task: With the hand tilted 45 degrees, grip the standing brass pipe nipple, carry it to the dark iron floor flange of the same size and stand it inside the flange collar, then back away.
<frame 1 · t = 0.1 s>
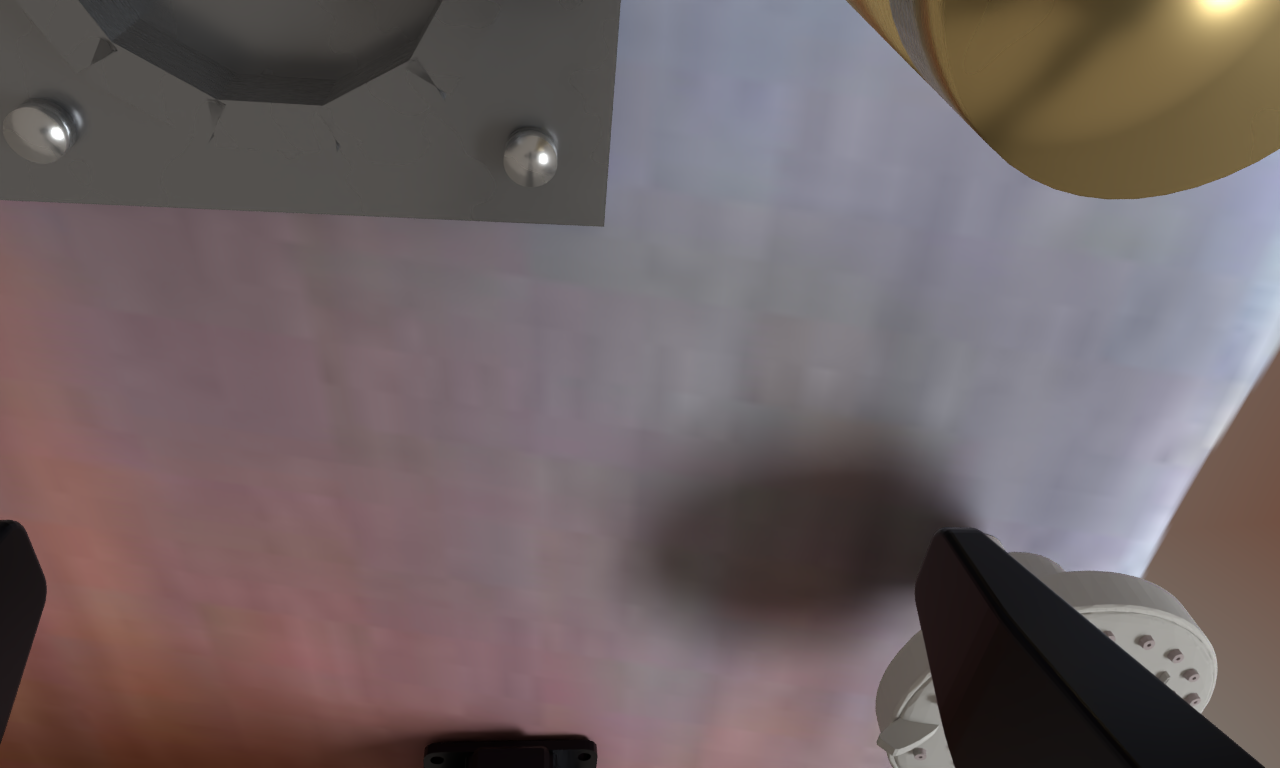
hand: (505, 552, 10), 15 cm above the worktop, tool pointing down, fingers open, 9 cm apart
showerhead: (960, 552, 32), on the worktop
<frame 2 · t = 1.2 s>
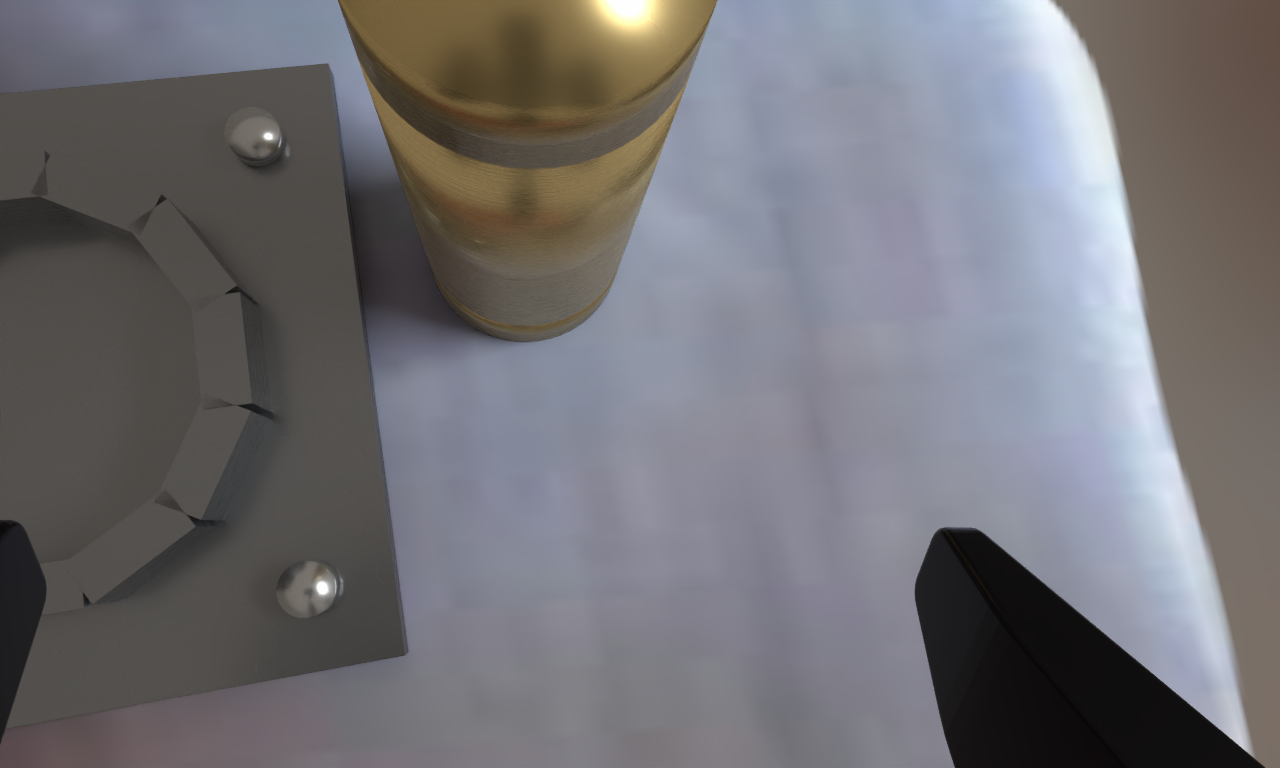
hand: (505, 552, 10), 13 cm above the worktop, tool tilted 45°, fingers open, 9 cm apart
floor flange: (53, 395, 21), on the worktop
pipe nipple: (524, 249, 23), on the worktop
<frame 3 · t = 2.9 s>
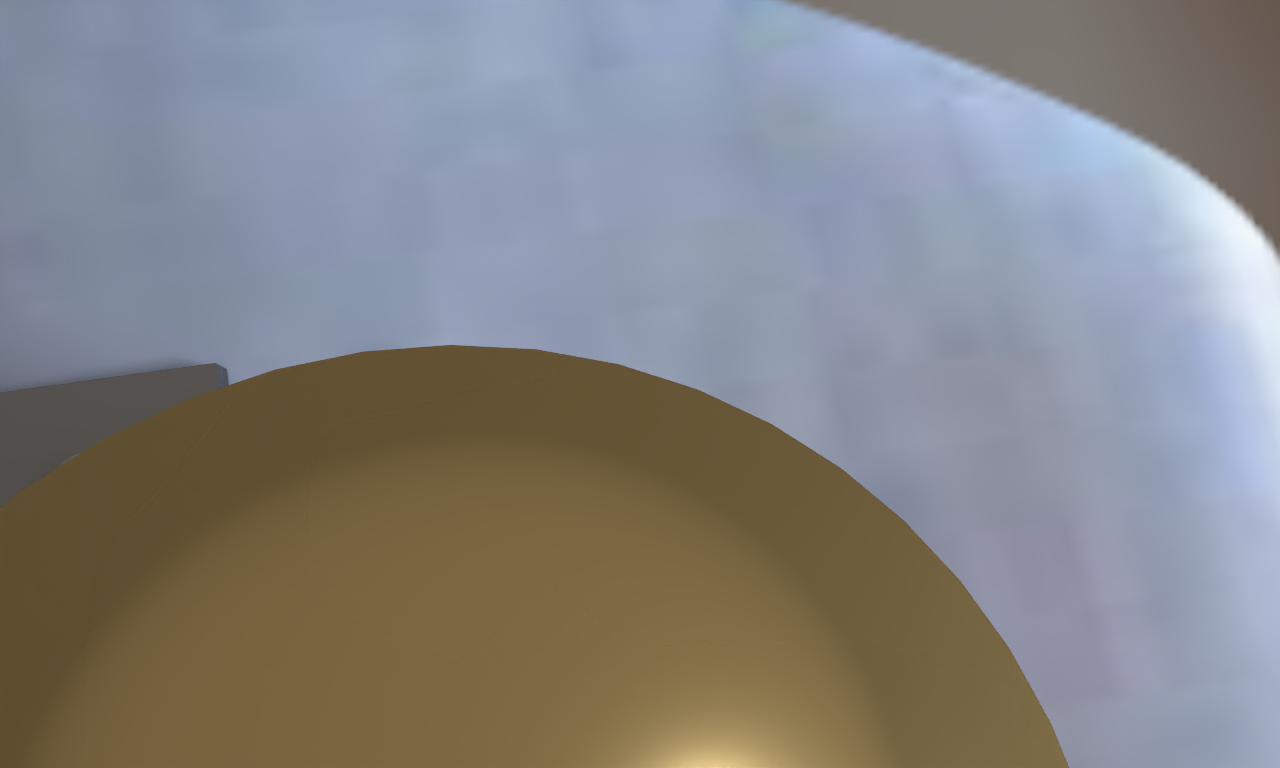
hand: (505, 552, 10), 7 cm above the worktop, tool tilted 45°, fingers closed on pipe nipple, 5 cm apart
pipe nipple: (509, 625, 16), on the worktop, touching gripper
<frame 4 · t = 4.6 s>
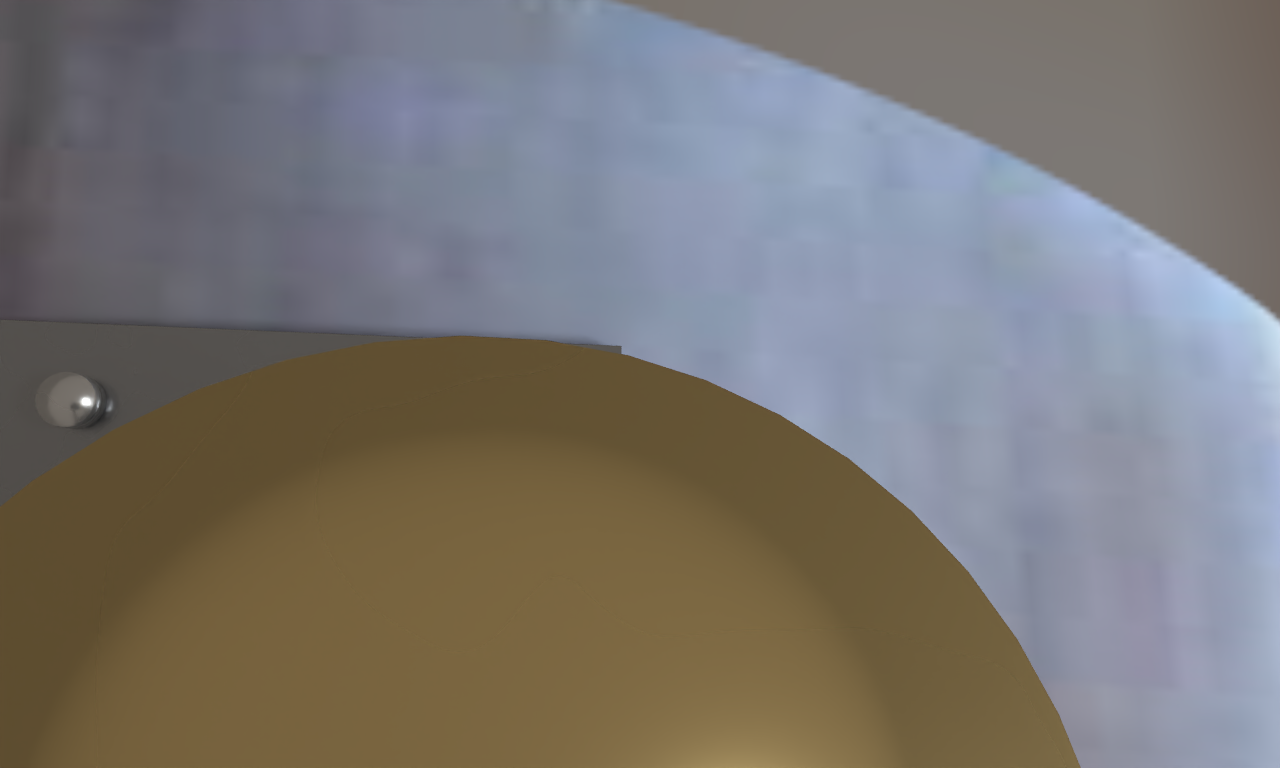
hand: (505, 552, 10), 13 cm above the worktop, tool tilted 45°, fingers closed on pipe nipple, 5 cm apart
floor flange: (307, 638, 22), on the worktop
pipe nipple: (511, 623, 16), point 7 cm above the worktop, touching gripper
when the fingers open (8 cm above the worktop, at t = 6.6 s): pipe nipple stays where it is, resting on floor flange.
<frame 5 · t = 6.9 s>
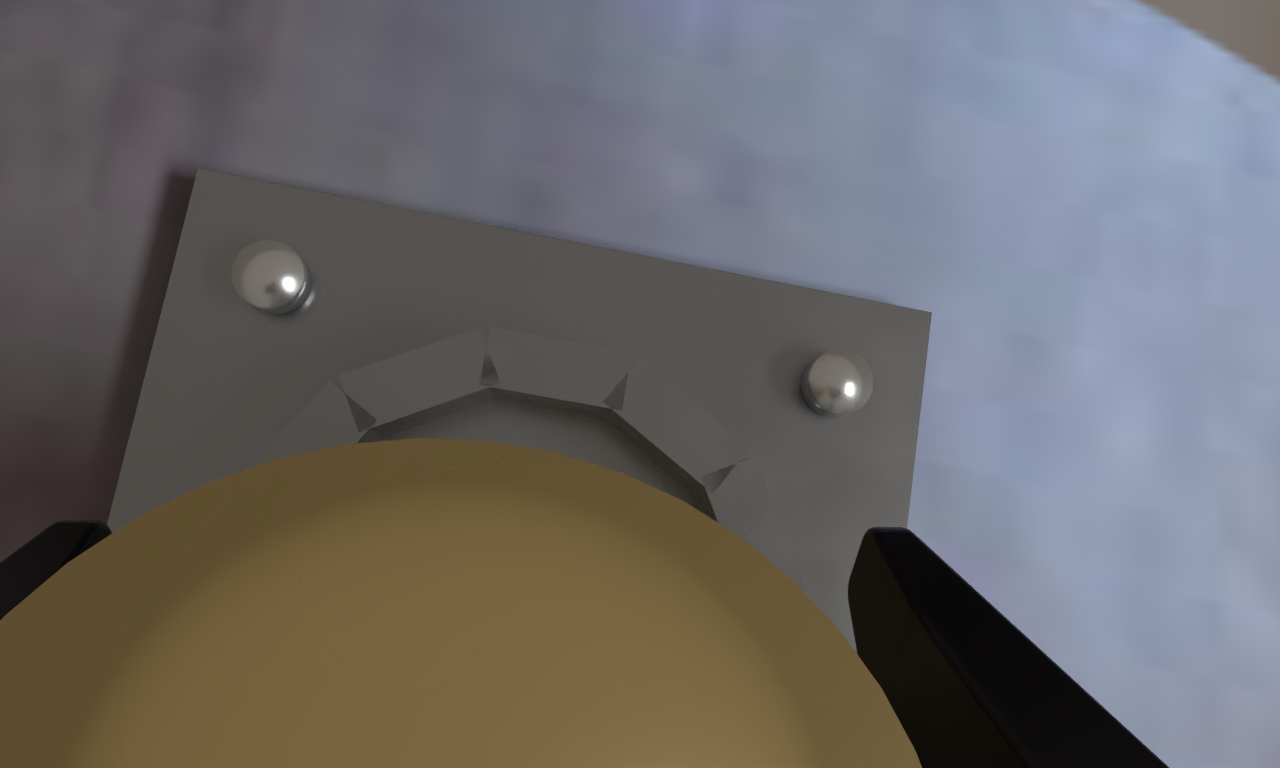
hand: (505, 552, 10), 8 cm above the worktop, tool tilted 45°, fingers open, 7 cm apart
floor flange: (510, 616, 17), on the worktop
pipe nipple: (510, 628, 17), point 1 cm above the worktop, touching floor flange
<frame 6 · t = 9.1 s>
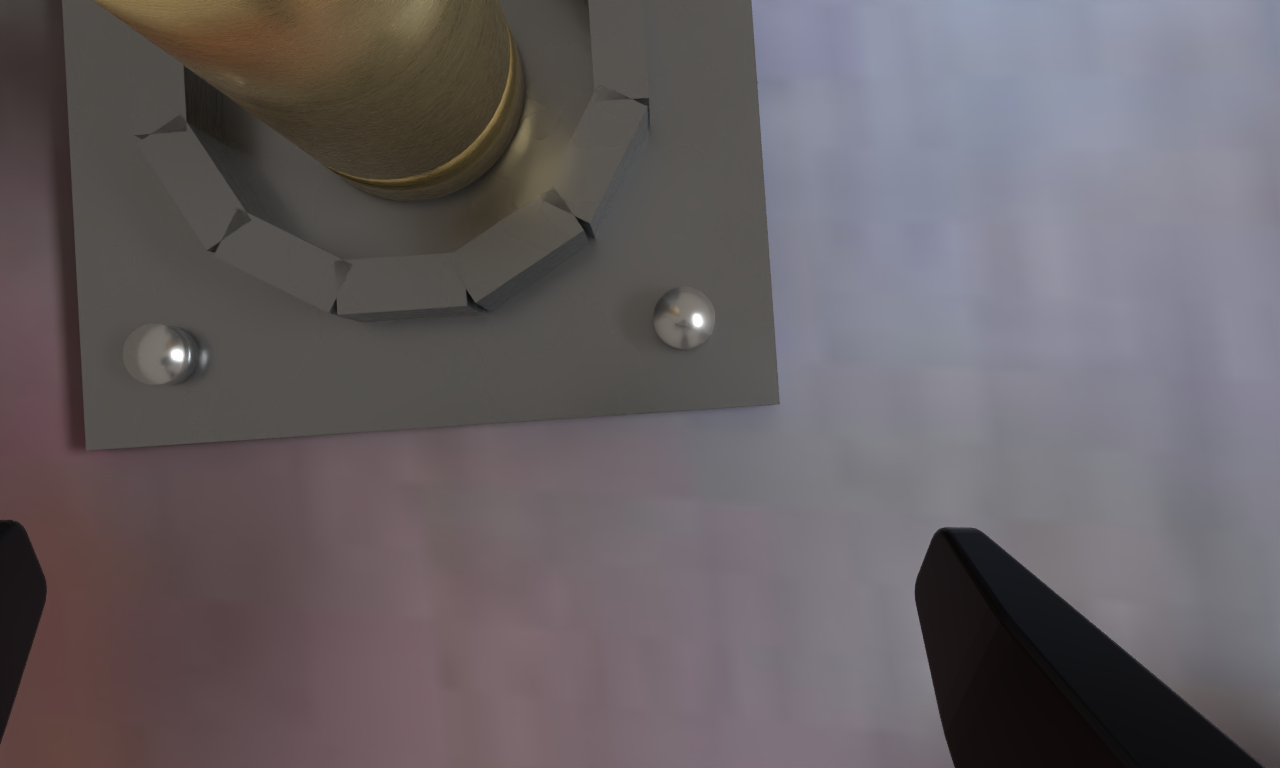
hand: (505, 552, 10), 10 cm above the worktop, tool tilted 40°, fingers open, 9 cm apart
floor flange: (416, 91, 20), on the worktop
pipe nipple: (411, 88, 19), point 1 cm above the worktop, touching floor flange
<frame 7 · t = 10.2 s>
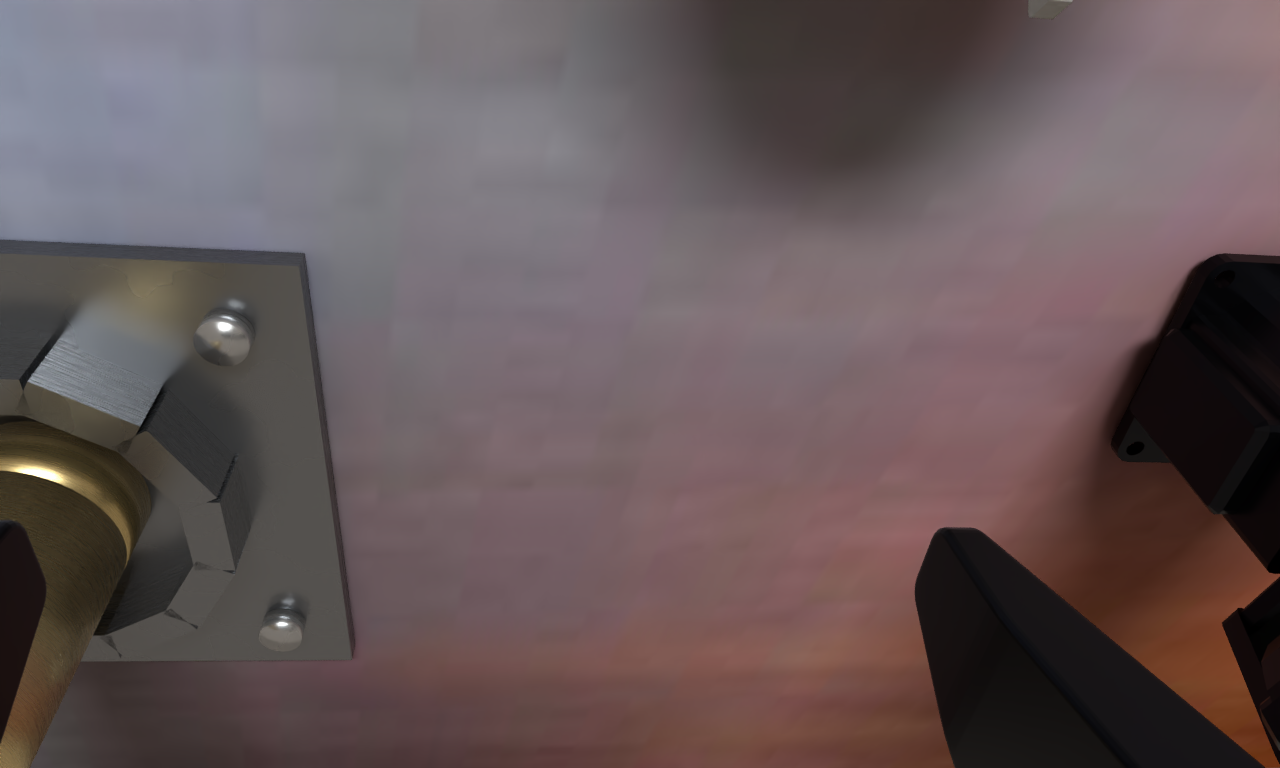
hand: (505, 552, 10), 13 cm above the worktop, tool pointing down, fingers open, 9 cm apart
floor flange: (60, 475, 25), on the worktop
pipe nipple: (55, 490, 24), point 1 cm above the worktop, touching floor flange
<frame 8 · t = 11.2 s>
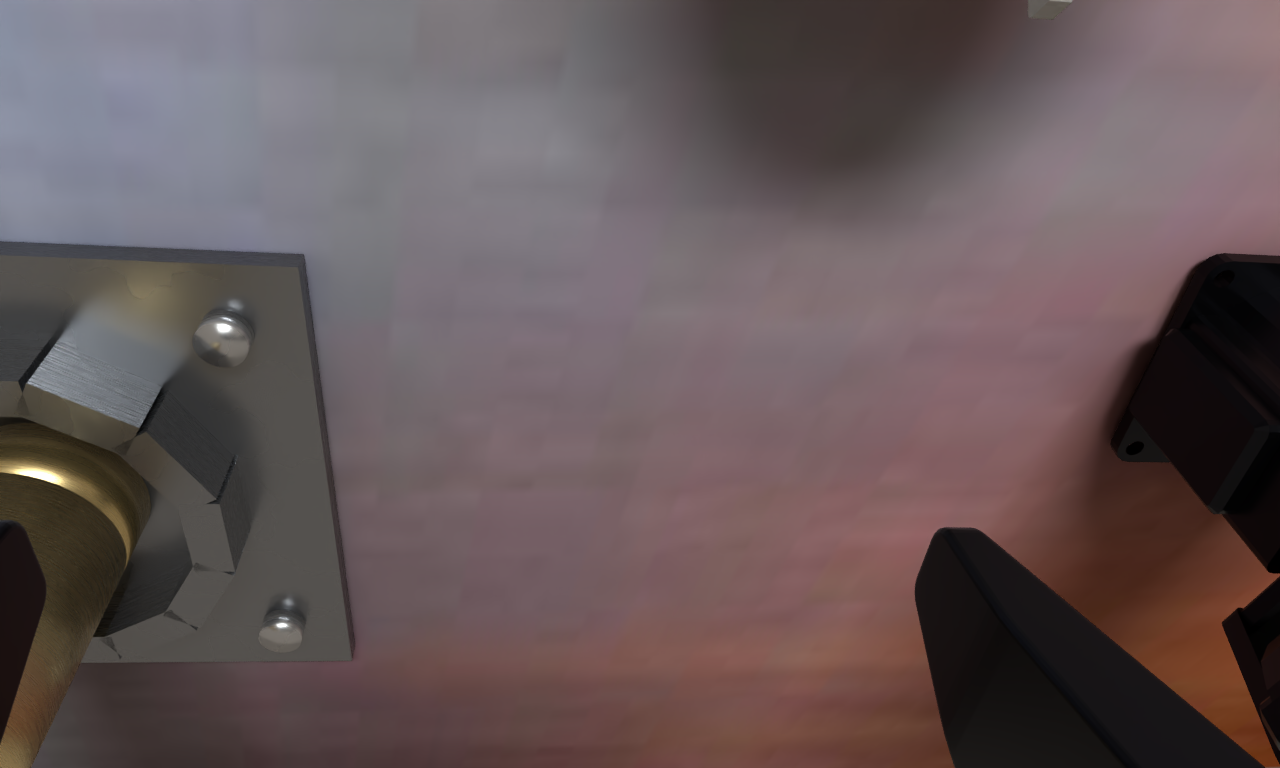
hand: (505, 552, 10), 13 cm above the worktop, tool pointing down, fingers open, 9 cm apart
floor flange: (59, 476, 25), on the worktop
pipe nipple: (55, 491, 24), point 1 cm above the worktop, touching floor flange
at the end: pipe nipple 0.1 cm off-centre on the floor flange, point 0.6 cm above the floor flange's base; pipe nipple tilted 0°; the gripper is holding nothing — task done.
